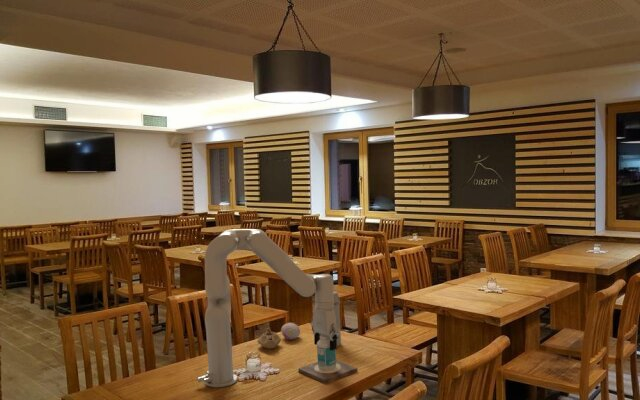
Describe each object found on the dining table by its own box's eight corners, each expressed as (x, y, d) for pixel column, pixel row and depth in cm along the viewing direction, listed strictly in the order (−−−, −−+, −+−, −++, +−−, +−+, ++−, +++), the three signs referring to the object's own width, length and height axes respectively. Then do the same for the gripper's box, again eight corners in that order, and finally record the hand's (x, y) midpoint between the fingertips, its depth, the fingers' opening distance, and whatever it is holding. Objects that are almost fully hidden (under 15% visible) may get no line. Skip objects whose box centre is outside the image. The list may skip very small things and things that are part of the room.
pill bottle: (336, 364, 214) (335, 332, 213) (335, 371, 206) (334, 337, 206) (318, 364, 215) (317, 332, 214) (316, 371, 207) (315, 337, 207)
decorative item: (296, 323, 265) (292, 313, 258) (305, 340, 257) (301, 330, 250) (280, 331, 263) (276, 321, 256) (288, 349, 256) (284, 338, 249)
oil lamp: (263, 354, 235) (262, 337, 235) (254, 345, 249) (254, 328, 249) (286, 350, 239) (285, 333, 239) (276, 341, 253) (275, 325, 253)
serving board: (325, 383, 199) (325, 379, 198) (298, 372, 212) (298, 367, 212) (357, 371, 209) (357, 367, 209) (330, 361, 222) (329, 357, 222)
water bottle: (326, 342, 248) (323, 290, 247) (342, 342, 247) (340, 290, 246) (323, 348, 239) (321, 295, 238) (340, 348, 238) (338, 295, 237)
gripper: (304, 302, 214) (305, 343, 214) (331, 310, 200) (332, 354, 201) (318, 299, 218) (319, 340, 219) (345, 307, 205) (346, 349, 206)
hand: (325, 346), depth 210 cm, fingers open, 9 cm apart
